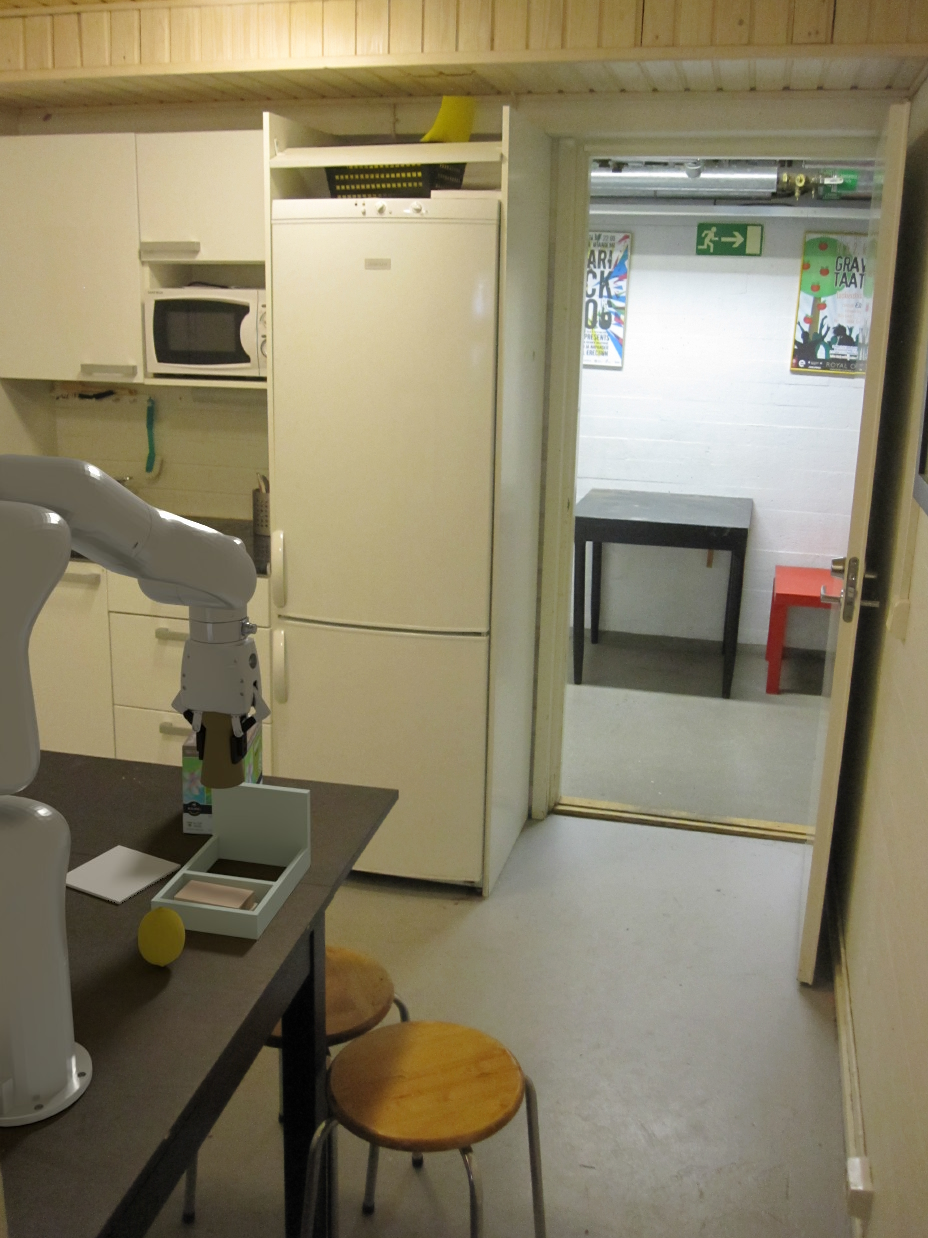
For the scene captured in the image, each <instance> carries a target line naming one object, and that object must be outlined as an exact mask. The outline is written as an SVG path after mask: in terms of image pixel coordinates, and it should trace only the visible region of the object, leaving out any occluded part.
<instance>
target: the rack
mask: <svg viewBox="0 0 928 1238" xmlns="http://www.w3.org/2000/svg"><path fill="white" fill-rule="evenodd" d="M211 793H212V823H213V834H212V836H211V837H210V838H209V839H208V840H207V842H205V844H204V845H202V847H201V848H199V850H198V851H197V852H196V853H195V854H194V855H193V856H192V857H191V858H190V860H188V861H187V862H186V863H185V864H184V866H183V867H181V868H180V869H179V871H177V873H176V874H175V875H174V876H173V877H172V878H171V879H170V880H169V881H168V882H167V883H166V884H165V885H164V887H163V888H162V889H160V891H159V892H158V893H156V895H155V896H154V897H152V899H151V900H150V906H151V910H153V909H155V908H158V907H166V908H170V909H172V910H174V911H175V912H176V913H177V914H178V915H179V916H180V918H181V920H182V922H183V925H184V929H185V931H186V930H187V931H188V930H189V931H193V932H195V931H196V932H201V933H209V934H215V935H222V936H231V937H237V938H242V939H243V938H244V939H250V940H259V938H260V937H261V936H262V934H263V933H264V932H265V930H266V929H267V928H268V926H269V925H270V923H271V922H272V920H273V919H274V918H275V917H276V915H277V914H278V912H279V910H280V909H281V908H282V907H283V905H284V903H285V902H286V901H287V900H288V898H289V897H290V895H291V894H292V892H293V891H294V890H295V888H296V887H297V885H299V883H300V882H301V880H302V878H304V876H305V875H306V873H307V872H308V871H309V870H310V867H311V865H312V864H311V863H312V862H311V790H310V789H305V788H295V787H288V786H287V787H286V786H279V785H277V786H276V785H271V784H270V785H269V784H263V783H262V784H253V783H245V782H243V783H242V784H240V785H239V786H236V787H232V788H227V789H213V788H211ZM219 859H220V860H221V859H222V860H229V861H230V860H231V861H238V862H245V863H254V864H260V865H261V864H262V865H267V866H268V865H269V866H276V867H285V869H284V870H283V872H282V873H281V874H280V876H279V877H278V879H277V880H276V881H271V880H263V879H255V878H248V877H239V876H232V875H224V874H217V873H211V872H210V873H209V872H208V871H209V870H210V869H211V867H213V866H214V864H215V863H216V861H218V860H219ZM191 880H194V881H200V882H206V883H211V884H217V885H223V886H229V887H234V888H240V889H246V890H252V891H254V903H258V906H257V908H256V909H255V910H254V911H247V910H240V909H233V908H226V907H219V906H211V905H204V904H197V903H190V902H183V901H175V900H174V896H175V895H176V894H177V893H178V892H179V891H180V890H182V889H183V888H184V887H185V886H186V885H187V884H188V883H189V882H190V881H191ZM151 910H150V911H151Z"/></svg>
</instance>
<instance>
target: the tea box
mask: <svg viewBox="0 0 928 1238" xmlns="http://www.w3.org/2000/svg"><path fill="white" fill-rule="evenodd" d="M251 715H252V714H248V717H250V716H251ZM181 757H182V758H181V760H182V762H181V764H182V765H181V767H182V827H183V828H182V832H183V834H196V835H213V823H212V793H211V788H208V787H205V786H203V785H202V784H201V783H200V779H201V770H202V761H203V760H199V751H197V749H196V732H194V731H193V730H192V731H191V732H190V734H188V736H187V738H186V739H185V741H184V742H183V744H182V746H181ZM242 762H243V768H244V774H245V781H244V782H245V783H253V784H262V785H263V720H262V721H260V722H258V723H256V724H255V725H253V726H252V727H251V728H250V729H249V730H248V731H247V754H246V756H245V757H244V758H243V759H242Z"/></svg>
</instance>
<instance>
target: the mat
mask: <svg viewBox="0 0 928 1238" xmlns="http://www.w3.org/2000/svg"><path fill="white" fill-rule="evenodd" d="M181 865H182V864H179V863H176V862H173V861H169V860H166V859H163V858H159V857H157V856H154V855H151V854H148V853H144V852H142V851H139V850H136V849H133V848H128V847H126V846H122V845H119V844H118V845H117V846H115V847H113V848H111V849H108V850H107V851H106V852H103V853H102V854H100V855H98V856H96V857H94V858H93V859H91V860H89V861H87V862H85V863H83V864H81V865H79V866H78V867H76V868H74V869H72V870H71V871H69V872H68V871H67V878H66V886H67V887H69V888H72V889H75V890H77V891H80V892H82V893H83V892H84V893H86V894H89V895H92V896H95V897H98V898H100V899H103V900H106V901H108V900H109V902H111V901H112V902H111V903H114V902H115V903H114V904H117V905H121V904H123V903H125V902H126V901H128V900H130V899H131V898H133V897H134V895H135V896H136V895H137V893H138V892H139V893H141V892H143V891H145V890H146V889H148V888H149V887H151V886H152V884H153V885H155V884H156V883H157V881H158V882H160V879H161V880H162V878H163V879H164V878H166V877H167V875H168V876H169V875H171V874H173V873H174V872H176V871H178V870H180V869H182V866H181ZM172 872H173V873H172ZM155 882H156V883H155ZM150 885H151V886H150ZM148 886H149V887H148ZM147 887H148V888H147ZM145 888H146V889H145ZM142 890H143V891H142ZM140 891H141V892H140ZM139 893H138V894H139ZM130 897H131V898H130ZM129 898H130V899H129ZM124 901H125V902H124ZM122 902H123V903H122Z"/></svg>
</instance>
